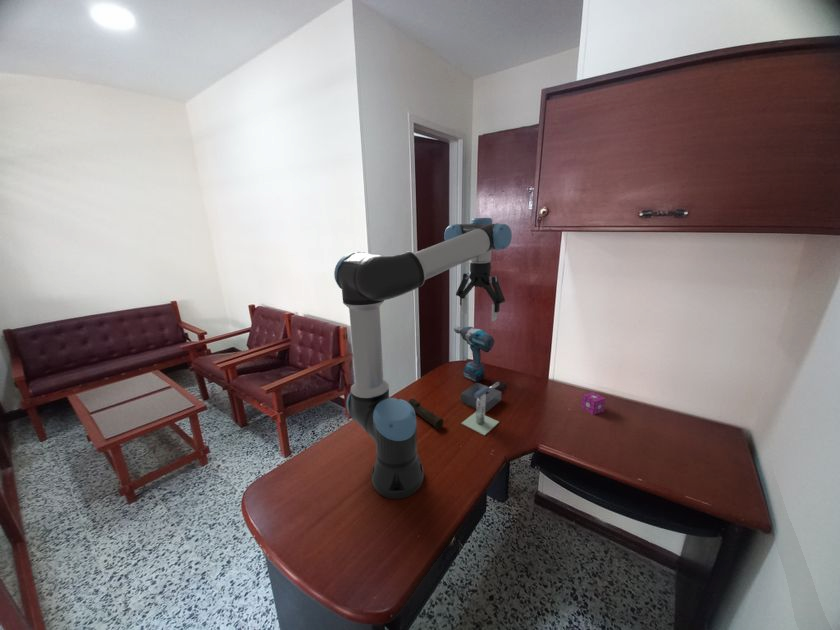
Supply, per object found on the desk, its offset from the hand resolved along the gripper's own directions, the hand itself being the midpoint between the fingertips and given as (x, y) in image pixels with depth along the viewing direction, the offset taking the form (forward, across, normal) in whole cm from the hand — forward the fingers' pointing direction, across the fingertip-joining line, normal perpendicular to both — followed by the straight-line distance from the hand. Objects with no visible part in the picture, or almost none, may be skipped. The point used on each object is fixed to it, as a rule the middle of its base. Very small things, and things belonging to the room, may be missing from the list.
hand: (478, 317), depth 119 cm
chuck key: (+36, -10, +12) cm, 39 cm away
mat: (+37, -10, +12) cm, 40 cm away
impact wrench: (+37, +13, -16) cm, 42 cm away
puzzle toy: (+37, -38, -25) cm, 59 cm away
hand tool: (+37, +9, +24) cm, 45 cm away
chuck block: (+37, -2, -5) cm, 37 cm away
